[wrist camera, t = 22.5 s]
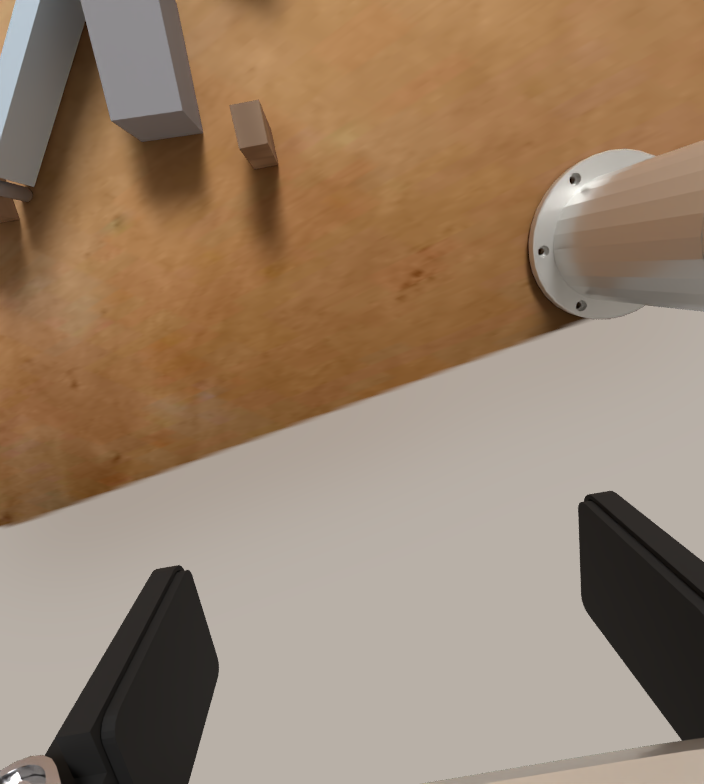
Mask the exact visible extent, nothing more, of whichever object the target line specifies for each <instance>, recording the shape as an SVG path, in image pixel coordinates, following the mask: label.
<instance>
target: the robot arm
mask: <svg viewBox="0 0 704 784" xmlns="http://www.w3.org/2000/svg"><path fill="white" fill-rule="evenodd" d="M570 178H571V179H572V183H570ZM539 249H541V254H540V255H539V254H538V250H539ZM529 260H530V264H531V269H532V273H533V275H534V277H535V280H536V282H537V284H538V286H539V288H540V289H541V290H542V292H543V293H544V295H545V296H546V297H547V298H548V299H549V300H550V301H551V302H552V303H553V304H555V305H556V306H557V307H559V308H560V309H562V310H564V311H566V312H567V313H570V314H573V315H576V316H579V317H584V318H590V319H611V318H616V317H621V316H624V315H627V314H629V313H632V312H634V311H637V310H638V309H640V308H642V307H643V306H645V305H649V306H658V307H667V308H676V309H685V310H694V311H703V312H704V140H702V141H699V142H697V143H694V144H691V145H688V146H685V147H682V148H679V149H676V150H673V151H670V152H668V153H665V154H662V155H659V156H654V155H651V154H648V153H646V152H643V151H639V150H632V149H617V150H609V151H605V152H602V153H599V154H595V155H593V156H591V157H588V158H586V159H584V160H582V161H580V162H578V163H577V164H575V165H574V166H572V167H571V168H569V169H568V170H566V171H565V172H564V173H563V174H562V175H561V176H560V177H559V178H558V179H557V180H555V181H554V183H553V184H552V185H551V187H550V188H549V189H548V191H547V192H546V193H545V195H544V196H543V198H542V200H541V202H540V204H539V206H538V208H537V209H536V212H535V215H534V218H533V221H532V224H531V229H530V236H529ZM577 303H578V306H577V307H576V304H577ZM578 513H579V542H580V572H581V596H582V602H583V605H584V607H585V609H586V611H587V613H588V614H589V616H590V617H591V619H592V620H593V621H594V622H595V624H596V625H597V627H598V628H599V629H600V630H601V632H602V633H603V635H604V636H605V637H606V639H607V640H608V641H609V643H610V644H611V645H612V647H613V648H614V649H615V651H616V652H617V653H618V655H619V656H620V658H621V659H622V660H623V662H624V663H625V664H626V666H627V667H628V668H629V670H630V671H631V672H632V674H633V675H634V676H635V678H636V679H637V680H638V682H639V683H640V684H641V686H642V687H643V688H644V690H645V691H646V692H647V694H648V695H649V696H650V698H651V699H652V701H653V702H654V703H655V705H656V706H657V707H658V708H659V710H660V711H661V713H662V714H663V715H664V717H665V718H666V719H667V721H668V722H669V723H670V725H671V726H672V727H673V729H674V730H675V731H676V733H677V734H678V735H679V737H680V738H681V740H682V741H678V742H671V743H664V744H657V745H650V746H644V747H638V748H632V749H626V750H620V751H614V752H608V753H602V754H596V755H590V756H584V757H578V758H571V759H565V760H559V761H553V762H547V763H542V764H535V765H529V766H523V767H517V768H511V769H505V770H500V771H493V772H488V773H482V774H477V775H470V776H464V777H458V778H452V779H446V780H441V781H435V782H429V783H424V784H704V562H703V561H702V560H700V559H699V558H698V557H696V556H695V555H694V554H693V553H691V552H690V551H689V550H688V549H686V548H685V547H684V546H682V545H681V544H680V543H679V542H677V541H676V540H675V539H674V538H672V537H671V536H670V535H669V534H667V533H666V532H665V531H663V530H662V529H661V528H660V527H658V526H657V525H656V524H655V523H653V522H652V521H651V520H650V519H648V518H647V517H646V516H644V515H643V514H642V513H641V512H639V511H638V510H637V509H636V508H634V507H633V506H632V505H630V504H629V503H628V502H627V501H625V500H624V499H623V498H622V497H620V496H619V495H618V494H617V493H615V492H613V491H607V492H601V493H595V494H589V495H587V496H586V497H585V499H584V502H581V503H579V507H578ZM218 672H219V664H218V658H217V655H216V652H215V648H214V645H213V641H212V638H211V635H210V632H209V628H208V625H207V622H206V619H205V615H204V612H203V609H202V606H201V603H200V599H199V596H198V593H197V590H196V586H195V583H194V580H193V577H192V574H191V572H190V571H189V570H186V571H184V569H183V568H182V566H179V565H178V566H172V567H166V568H160V569H156V570H154V571H153V572H152V574H151V576H150V577H149V579H148V581H147V582H146V584H145V586H144V588H143V589H142V591H141V593H140V594H139V596H138V598H137V599H136V601H135V603H134V604H133V606H132V608H131V609H130V611H129V613H128V615H127V616H126V618H125V620H124V621H123V623H122V625H121V626H120V628H119V630H118V632H117V634H116V635H115V637H114V638H113V640H112V642H111V644H110V645H109V647H108V649H107V650H106V652H105V654H104V656H103V657H102V659H101V661H100V662H99V664H98V666H97V667H96V669H95V671H94V672H93V674H92V676H91V677H90V679H89V681H88V683H87V684H86V686H85V688H84V689H83V691H82V693H81V694H80V696H79V698H78V700H77V701H76V703H75V705H74V707H73V708H72V710H71V711H70V713H69V715H68V717H67V718H66V720H65V722H64V724H63V725H62V727H61V728H60V730H59V732H58V734H57V735H56V737H55V739H54V741H53V742H52V744H51V746H50V747H49V749H48V751H47V753H46V754H45V756H44V755H37V756H29V757H27V758H24V759H21V760H18V761H16V762H14V763H12V764H10V765H9V766H7V767H5V768H4V769H2V770H0V784H188V783H189V779H190V776H191V772H192V768H193V765H194V761H195V758H196V754H197V750H198V747H199V743H200V740H201V736H202V732H203V728H204V725H205V722H206V718H207V714H208V710H209V707H210V703H211V700H212V696H213V693H214V689H215V686H216V682H217V678H218Z"/></svg>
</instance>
